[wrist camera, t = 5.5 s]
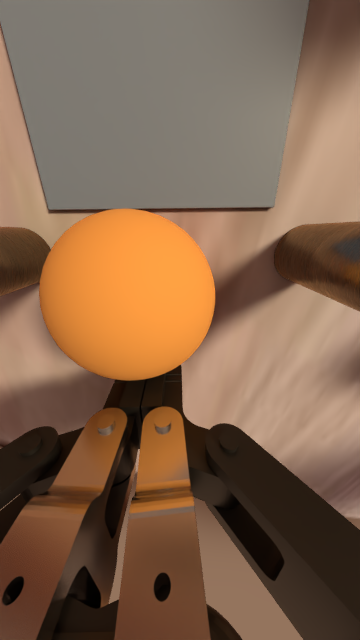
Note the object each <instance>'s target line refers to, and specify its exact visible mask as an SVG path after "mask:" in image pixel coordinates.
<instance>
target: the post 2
mask: <svg viewBox="0 0 360 640" xmlns="http://www.w3.org/2000/svg"><path fill="white" fill-rule="evenodd" d="M274 264H275V268H276V270H277V271H278V273H279V274H280V275H281V276H282V277H284V278H286V279H288V280H291V281H293V282H295V283H297V284H299V285H302V286H304V287H306V288H308V289H311V290H313V291H315V292H317V293H320V294H322V295H324V296H326V297H328V298H331V299H333V300H335V301H337V302H340V303H342V304H344V305H346V306H349V307H351V308H353V309H355V310H357V311H360V222H342V223H324V224H307V225H301V226H298V227H296V228H294V229H292V230H290V231H289V232H288V233H287V234H286V235H285V236H284V237H283V238H282V239H281V240H280V242H279V243H278V245H277V248H276V250H275V254H274Z"/></svg>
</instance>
